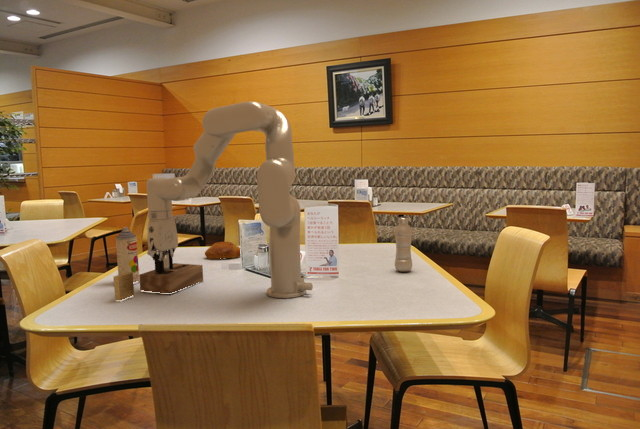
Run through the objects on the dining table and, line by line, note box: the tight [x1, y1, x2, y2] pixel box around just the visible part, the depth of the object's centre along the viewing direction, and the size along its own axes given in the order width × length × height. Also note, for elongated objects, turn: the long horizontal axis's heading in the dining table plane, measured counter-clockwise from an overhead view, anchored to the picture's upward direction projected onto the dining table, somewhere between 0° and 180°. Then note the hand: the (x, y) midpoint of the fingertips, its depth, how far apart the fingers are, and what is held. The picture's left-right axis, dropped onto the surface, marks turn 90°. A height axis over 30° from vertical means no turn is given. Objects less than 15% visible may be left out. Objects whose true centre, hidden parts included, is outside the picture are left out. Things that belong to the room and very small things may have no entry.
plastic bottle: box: [394, 216, 413, 273], centre depth 182 cm, size 6×7×20 cm
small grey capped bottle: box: [157, 251, 170, 274], centre depth 165 cm, size 4×4×11 cm
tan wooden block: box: [113, 272, 135, 300], centre depth 155 cm, size 2×6×8 cm, turn 158°
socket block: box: [139, 262, 204, 293], centre depth 169 cm, size 12×18×6 cm, turn 158°
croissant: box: [204, 241, 241, 260], centre depth 219 cm, size 14×16×8 cm
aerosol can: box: [115, 226, 140, 282], centre depth 175 cm, size 7×7×20 cm
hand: (164, 269), depth 165 cm, fingers open, 3 cm apart
